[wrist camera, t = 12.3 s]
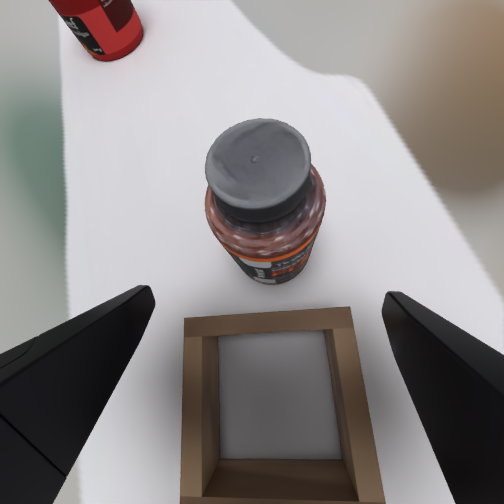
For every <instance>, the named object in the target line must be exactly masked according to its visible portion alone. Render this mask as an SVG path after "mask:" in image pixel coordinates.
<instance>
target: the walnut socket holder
mask: <svg viewBox="0 0 504 504" xmlns="http://www.w3.org/2000/svg"><path fill="white" fill-rule="evenodd" d="M322 329H324V332H325V339H326V346H327V353H328V360H329V367H330V374H331V381H332V388H333V394H334V401H335V408H336V415H337V422H338V429H339V436H340V443H341V450H342V457H343V460H265V459H220V429H219V371H218V336H219V335H236V334H254V333H271V332H288V331H305V330H322ZM180 504H386V502H385V497H384V491H383V486H382V480H381V475H380V469H379V464H378V458H377V453H376V447H375V442H374V436H373V431H372V425H371V420H370V414H369V409H368V403H367V397H366V392H365V386H364V381H363V375H362V370H361V364H360V359H359V353H358V348H357V342H356V337H355V331H354V326H353V320H352V315H351V309H350V307H336V308H322V309H307V310H293V311H278V312H264V313H249V314H235V315H221V316H206V317H192V318H184V351H183V394H182V437H181V479H180Z"/></svg>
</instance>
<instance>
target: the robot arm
mask: <svg viewBox="0 0 504 504" xmlns="http://www.w3.org/2000/svg"><path fill="white" fill-rule="evenodd" d="M154 308H155V299H154V296H153V293H152V290H151V288H150V286H148V285H138V286H136V287H134V288H132V289H130V290H128V291H126V292H124V293H122V294H120V295H118V296H116V297H114V298H112V299H110V300H108V301H106V302H104V303H102V304H100V305H98V306H96V307H94V308H92V309H90V310H88V311H86V312H84V313H82V314H80V315H78V316H76V317H74V318H72V319H70V320H68V321H66V322H65V323H62V324H60V325H58V326H56V327H55V328H52V329H50V330H48V331H46V332H44V333H42V334H40V335H39V336H37V337H34V338H32V339H30V340H28V341H26V342H24V343H22V344H21V345H18V346H16V347H14V348H12V349H10V350H8V351H6V352H4V353H2V354H0V504H53V502H54V500H55V499H56V497H57V495H58V493H59V491H60V489H61V487H62V486H63V483H64V482H65V480H66V476H68V474H69V472H70V470H71V468H72V467H73V465H74V463H75V461H76V459H77V458H78V456H79V454H80V452H81V450H82V448H83V446H84V445H85V443H86V441H87V439H88V437H89V435H90V433H91V432H92V430H93V428H94V426H95V424H96V422H97V421H98V419H99V417H100V415H101V413H102V411H103V409H104V408H105V406H106V404H107V402H108V400H109V398H110V396H111V395H112V393H113V391H114V389H115V387H116V385H117V384H118V382H119V380H120V378H121V376H122V374H123V372H124V371H125V369H126V367H127V365H128V363H129V361H130V359H131V358H132V356H133V354H134V352H135V350H136V348H137V346H138V345H139V343H140V341H141V338H142V336H143V334H144V332H145V329H146V327H147V324H148V322H149V320H150V317H151V315H152V313H153V310H154ZM382 317H383V320H384V324H385V327H386V331H387V334H388V338H389V341H390V345H391V348H392V351H393V354H394V357H395V360H396V363H397V365H398V367H399V370H400V372H401V375H402V377H403V379H404V382H405V384H406V386H407V389H408V391H409V394H410V396H411V398H412V401H413V403H414V406H415V408H416V410H417V413H418V415H419V418H420V420H421V422H422V425H423V427H424V429H425V432H426V434H427V437H428V439H429V441H430V444H431V446H432V449H433V451H434V453H435V456H436V458H437V460H438V463H439V465H440V468H441V470H442V472H443V475H444V477H445V480H446V482H447V484H448V487H449V489H450V491H451V494H452V496H453V499H454V501H455V503H456V504H504V355H503V354H501V353H500V352H498V351H496V350H495V349H493V348H491V347H490V346H488V345H487V344H485V343H483V342H482V341H480V340H478V339H477V338H475V337H474V336H472V335H470V334H469V333H467V332H465V331H464V330H462V329H461V328H459V327H457V326H456V325H454V324H452V323H451V322H449V321H448V320H446V319H444V318H443V317H441V316H439V315H438V314H436V313H434V312H433V311H431V310H430V309H428V308H426V307H425V306H423V305H421V304H420V303H418V302H417V301H415V300H413V299H412V298H410V297H408V296H407V295H405V294H404V293H402V292H399V291H388V292H387V293H386V295H385V299H384V303H383V307H382Z"/></svg>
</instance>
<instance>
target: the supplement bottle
mask: <svg viewBox="0 0 504 504" xmlns="http://www.w3.org/2000/svg"><path fill="white" fill-rule="evenodd" d="M205 174H206V179H207V182H208V184H209V185H208V187H207V191H206V196H205V212H206V217H207V221H208V223H209V226H210V228H211V230H212V232H213V234H214V235H215V237H216V238H217V239H218V240H219V242H220V243H221V244H222V245H223V247H224V248H225V249H226V250H227V252H228V253H229V254H230V255H231V256H232V258H233V259H234V260H235V261H236V263H237V264H238V265H239V266H240V268H241V269H242V270H243V271H244V272H245V273H246V274H247V275H248V276H250V277H251V278H252V279H254V280H256V281H259V282H262V283H266V284H279V283H283V282H286V281H288V280H290V279H292V278H293V277H295V276H296V275H298V274H299V273H300V271H301V270H303V268H304V267H305V265H306V263H307V261H308V258H309V256H310V253H311V250H312V247H313V244H314V241H315V239H316V236H317V233H318V230H319V228H320V225H321V222H322V218H323V216H324V210H325V205H326V204H325V203H326V195H325V189H324V185H323V182H322V179H321V177H320V175H319V173H318V171H317V170H316V168H315V167H314V166H313V165H312V164H311V154H310V150H309V146H308V144H307V142H306V140H305V138H304V137H303V136H302V135H301V133H299V132H298V131H297V130H296V129H295V128H293V127H292V126H290V125H288V124H287V123H284V122H281V121H279V120H274V119H262V118H258V119H253V120H247V121H244V122H241V123H238V124H236V125H234V126H232V127H230V128H229V129H227V130H226V131H224V132H223V133H222V134H221V135H220V136H219V137H218V138H217V139H216V140H215V142H214V144H213V145H212V146H211V148H210V150H209V152H208V154H207V157H206V164H205Z"/></svg>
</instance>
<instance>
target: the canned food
mask: <svg viewBox="0 0 504 504" xmlns="http://www.w3.org/2000/svg"><path fill="white" fill-rule="evenodd" d="M49 2H50V3H51V4H52V6H53V7H54V8H55V9H56V11H57V12H58V14H59V15H60V16H61V18H62V19H63V20H64V22H65V23H66V24H67V26H68V27H69V28H70V30H71V31H72V32H73V34H74V35H75V36H76V38H77V39H78V40H79V41H80V43H81V44H82V45H83V47H84V48H85V49H86V50H87V52H89V53H90V54H91V55H92V56H93V57H94V58H96V59H98V60H102V61H110V60H115V59H119V58H121V57H123V56H125V55H127V54H129V53H130V52H131V51H133V50H134V49H135V48H136V47H137V46H138V44H139V43H140V41H141V39H142V36H143V30H142V25H141V21H140V19H139V17H138V15H137V13H136V11H135V8H134V6H133V4H132V2H131V0H49Z"/></svg>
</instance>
